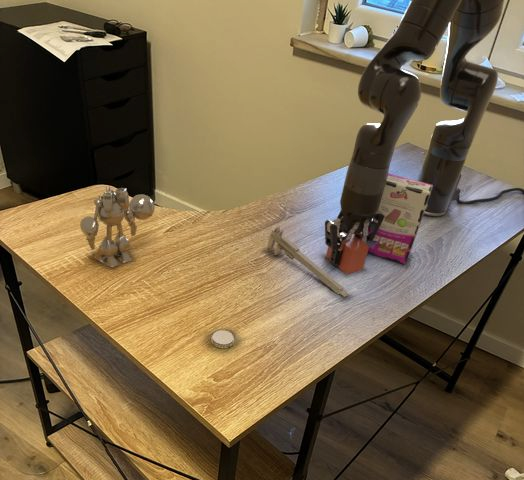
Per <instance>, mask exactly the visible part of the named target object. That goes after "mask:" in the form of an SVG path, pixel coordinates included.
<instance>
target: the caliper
mask: <svg viewBox="0 0 524 480" xmlns="http://www.w3.org/2000/svg"><path fill="white" fill-rule="evenodd" d="M283 233H284V229H282V230H281V227H280V226H276V227H275V229H272V230H271V233H270V234H269V237H268V242H267V252H271V251H272V250H273V249H274V251H273V256H277V255H278V254H280V253H281V252H282V251H283V253H284V254H285V255H286V256H287V257H289V258H290V260H296V261H298V262H299V263H300V264H301V265H302V266H303V267H305V268H306V269H307V270H308V271H309V272H310V273H312V274H313V275H314V276H315V277H316V278H317V279H319V280H320V281H321V282H322V283H324V285H326V286H327V287H328V288H329V289H330V290H331V291H333V292H334V293H335V294H337V295H338V296H339V295H341V296H342V297H343V298H345V297H347V296H348V292H346V291H345V288H344V286H342V285H341V284H340V283H339V282H338V281H336V279H334V278H333V277H332V276H330V275H329V274H328V273H327V272H326V271H324V269H322V267H320V266H319V265H318V264H316V263H315V262H314V261H313V260H311V259H310V258H309V257H308V256H307V255H305V254H304V253H303V252H301V250H300V248H299V246H297V245H296V244H295V243H294V242H292V241H291V240H290V239H289V238H288V237H287V236H286V235H283ZM275 244H277V245H276V247H275V248H274V246H275Z"/></svg>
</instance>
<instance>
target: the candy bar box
mask: <svg viewBox="0 0 524 480" xmlns="http://www.w3.org/2000/svg"><path fill="white" fill-rule="evenodd" d="M432 187H433V185H431V184H427V183H423V182H420V181H417V179H411V178H408V177H404V176H400V175H396V174H393V173H389V172H388V178H387V181H386V185H385V188H384V192H383V195H382V199H381V202H380V206H379V209H378V211H379V212H380V213H382V214H383V215H384V216H385V217H384V219H383V221H382V223H381V225H380V227H379V229H378V231H377V233H376V235H375V237H374V239H373V240H372V241H371V242H370V241H367V242H366V244H367V245H368V246H369V249H368V252H367V254H370V255H373V256H376V257H379V258H383V259H386V260H389V261H393V262H397V263H399V264H404V265H406V264H407V261H408V260H409V257H410V254H411V252H412V249H413V246H414V243H415V240H416V237H417V234H418V232H419V229H420V227H421V222H422V221H423V218H424V211H425V208H426V205H427V202H428V199H429V196H430V193H431V190H432ZM371 231H372V229H371V228H370V230H369V232H368V233H369V234H370V233H371Z"/></svg>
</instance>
